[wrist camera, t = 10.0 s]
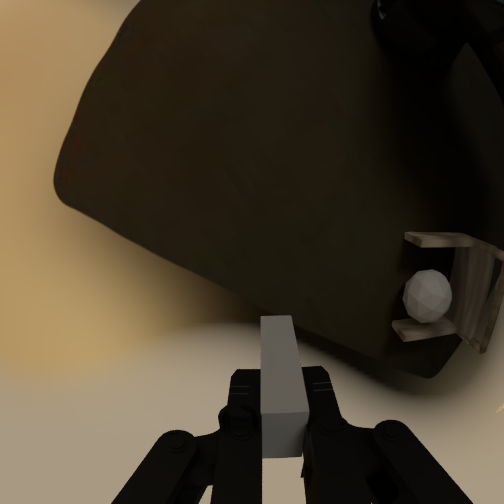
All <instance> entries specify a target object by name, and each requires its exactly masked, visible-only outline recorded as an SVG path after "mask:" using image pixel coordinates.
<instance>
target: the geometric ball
mask: <svg viewBox="0 0 504 504" xmlns="http://www.w3.org/2000/svg"><path fill="white" fill-rule="evenodd" d="M451 300H452V291H451V288H450V284H449V282H448V281H447V279H446V277H445V276H444V275H443V274H441V273H440V272H438V271H435V270H433V269H432V270H425V271H418V272H417V273H416V274H415V275H414V276H413V277H412V278H411V279H410V280H409V281H407V282H406V286H405V290H404V295H403V302H404V305H405V307H406V310H407V312H408V315H409V316H411V317H413V318H414V319H416V320H417V321H419V322H421V323H426V322H433V321H437V320H438V319H439V318H440V317H441V316H442V315H443V314H444V313H445V312H446V311H447V310H448V309H449V306H450V303H451Z"/></svg>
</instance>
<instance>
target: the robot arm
mask: <svg viewBox="0 0 504 504" xmlns="http://www.w3.org/2000/svg"><path fill="white" fill-rule="evenodd" d="M371 15H372V20H373V23H374V26H375V28H376V30H377V32H378V33H379V35H380V36H381V38H382V39H383V40H384V42H385V43H386V44H387V45H388V46H389V47H390V48H391V49H392V50H393V51H394V52H395V53H396V54H397V55H399V56H400V57H401V58H403V59H404V60H406V61H407V62H409V63H411V64H413V65H415V66H417V67H420V68H423V69H428V70H437V69H441V68H443V67H445V66H447V65H449V64H451V63H452V62H453V61H454V60H455V59H456V57H457V55H458V54H459V52H460V51H461V49H462V47H463V46H464V44H465V43H466V42H468V43H469V45H470V46H471V47H472V49H473V50H474V52H475V54H476V55H477V57H478V58H479V60H480V62H481V63H482V65H483V67H484V68H485V70H486V72H487V74H488V75H489V77H490V79H491V81H492V83H493V85H494V86H495V88H496V90H497V92H498V94H499V96H500V98H501V100H502V102H503V107H504V0H375V1H374V3H373V5H372V9H371ZM218 420H219V425H220V429H219V430H217V431H216V432H214V433H211V434H208V435H203V436H197V437H194V436H193V435H192V434H191V433H189V432H187V431H182V430H172V431H168V432H166V433H164V434H163V435H162V436H161V437H160V438H159V439H158V440H157V442H156V443H155V444H154V446H153V447H152V449H151V450H150V451H149V453H148V454H147V455H146V457H145V458H144V460H143V461H142V462H141V464H140V465H139V466H138V468H137V469H136V471H135V472H134V473H133V475H132V476H131V477H130V479H129V480H128V482H127V483H126V484H125V486H124V487H123V488H122V490H121V491H120V492H119V494H118V495H117V496H116V498H115V499H114V500H113V502H112V503H111V504H199V502H200V500H201V498H202V496H203V494H204V492H205V490H206V488H207V486H209V485H213V488H212V495H211V503H210V504H262V458H288V457H301V456H302V453H303V457H304V463H303V468H302V473H301V478H303V477H304V486H305V496H306V504H371V503H372V504H473V503H472V501H471V500H470V499H469V498H468V497H467V496H466V494H464V492H463V491H462V490H461V489H460V487H459V486H458V485H457V484H456V483H455V482H454V480H452V478H451V477H450V476H449V475H448V473H447V472H446V471H445V470H444V469H443V468H442V466H441V465H440V464H439V463H438V462H437V461H436V460H435V458H434V457H433V456H432V455H431V454H430V452H429V451H428V450H427V449H426V448H425V447H424V445H423V444H422V443H421V442H420V441H419V440H418V438H417V437H416V436H415V435H414V434H413V433H412V431H411V430H410V429H409V428H408V427H407V426H406V425H405V424H403V423H402V422H400V421H397V420H386V421H382V422H380V423H379V424H377V425H376V426H375V428H362V427H356V426H353V425H350V424H349V423H348V422H347V421H346V420H345V419H344V418H342V416H341V414H340V411H339V407H338V404H337V400H336V397H335V393H334V390H333V387H332V383H331V380H330V377H329V374H328V372H327V371H326V370H325V369H324V368H323V367H322V366H312V367H301V363H300V358H299V354H298V348H297V343H296V338H295V333H294V328H293V323H292V318H291V316H261V369H237V370H236V371H235V373H234V374H233V375H232V376H231V381H230V388H229V396H228V403H227V406H225V407H224V408H223V409H221V411H220V413H219V415H218Z"/></svg>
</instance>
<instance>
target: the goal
mask: <svg viewBox="0 0 504 504" xmlns="http://www.w3.org/2000/svg"><path fill="white" fill-rule="evenodd" d="M404 239H406V240H408V241H410V242H412V243H413V244H415V245H417V246H419V247H455V254H454V261H453V267H452V273H451V278H450V288H451V291H452V300H451V303H450V306H449V309H448V310H447V311H446V312H445V313H444V314H443V315H442V316H441V317H440V318H439V319H438V320H437V321H433V322H426V323H421V322H419V321H417V320H416V319H414V318H410V319H402V320H393V321H392V327H393V329H394V330H395V331H396V332H397V334H398V335H399V336H400V338H401V339H402V340H403V342H408V341H414V340H420V339H426V338H432V337H437V336H443V335H448V334H453V333H457V334H458V335H459V336H460V337H461V338H462V339H463V340H464V341H465V342H466V343H467V344H468V345H472V347H473V348H474V349H475V350H476V351H477V352H478V353H480V354H482V353H485V351H486V349H487V346H488V344H489V341H490V338H491V335H492V332H493V329H494V326H495V323H496V320H497V316H498V313H499V310H500V306H501V302H502V298H503V295H504V251H502V250H499V249H497V247H496V246H494V245H491V244H489V243H486V242H484V241H481V240H479V239H476V238H474V237H471V236H469V235H466V234H463V233H451V232H405V236H404ZM495 257H496V258H498V259H500V260H502V261H503V264H502V269H501V274H500V279H499V284H498V288H497V292H496V296H495V300H494V304H493V308H492V311H491V315H490V319H489V321H488V325H487V328H486V331H485V334H484V337H483V340H482V343H480V342H479V341H478V340H476V339H475V336H476V333H477V330H478V327H479V324H480V320H481V317H482V313H483V310H484V306H485V302H486V298H487V294H488V290H489V286H490V281H491V276H492V271H493V266H494V260H495Z"/></svg>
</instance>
